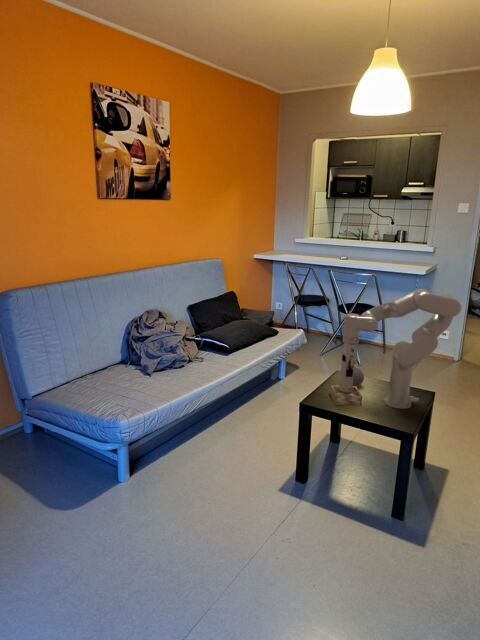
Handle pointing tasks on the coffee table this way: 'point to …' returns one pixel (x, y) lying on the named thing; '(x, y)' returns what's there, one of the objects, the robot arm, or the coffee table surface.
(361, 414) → the coffee table surface
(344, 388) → the travel mug
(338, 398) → the open box
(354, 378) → the decorative ball
